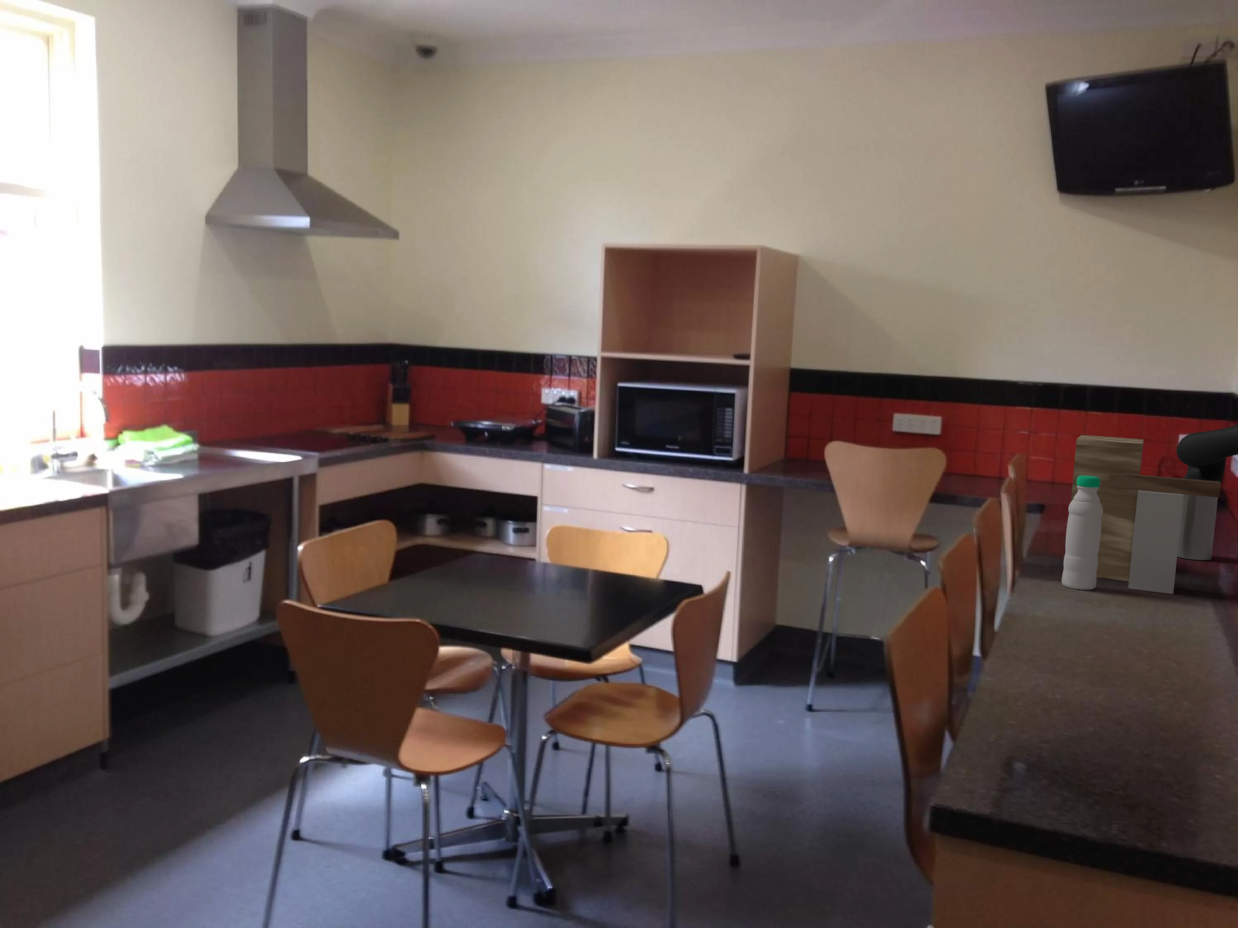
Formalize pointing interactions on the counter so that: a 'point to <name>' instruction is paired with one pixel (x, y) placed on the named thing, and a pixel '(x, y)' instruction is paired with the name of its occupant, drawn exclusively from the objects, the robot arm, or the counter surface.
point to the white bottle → (1083, 536)
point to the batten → (1165, 484)
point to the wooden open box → (1111, 497)
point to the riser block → (1155, 541)
